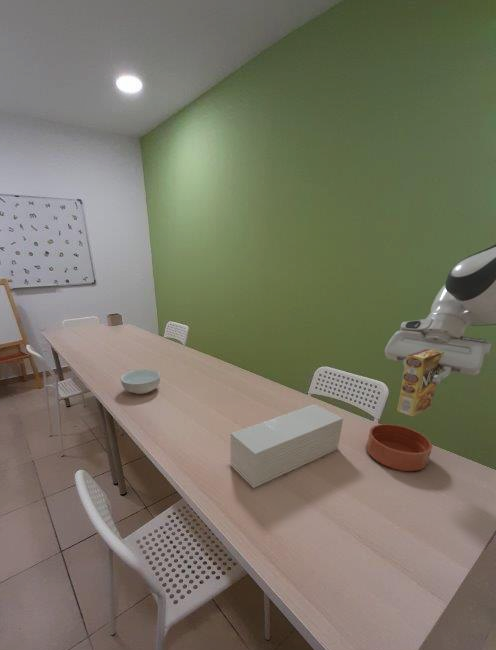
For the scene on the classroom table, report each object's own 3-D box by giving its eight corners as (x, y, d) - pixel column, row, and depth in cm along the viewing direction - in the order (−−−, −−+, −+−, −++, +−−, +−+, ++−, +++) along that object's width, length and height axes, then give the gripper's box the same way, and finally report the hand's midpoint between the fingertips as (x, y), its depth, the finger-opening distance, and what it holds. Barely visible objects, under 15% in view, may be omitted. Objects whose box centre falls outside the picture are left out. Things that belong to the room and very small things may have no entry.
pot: (432, 455, 87) (438, 437, 85) (417, 480, 78) (423, 461, 75) (376, 434, 97) (380, 418, 95) (357, 455, 88) (361, 438, 86)
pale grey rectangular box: (253, 488, 77) (255, 453, 72) (230, 465, 85) (230, 433, 81) (337, 449, 91) (343, 418, 87) (310, 432, 99) (314, 403, 95)
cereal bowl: (126, 401, 124) (124, 386, 121) (119, 387, 138) (117, 373, 135) (166, 393, 130) (164, 378, 127) (155, 380, 144) (154, 366, 141)
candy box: (412, 417, 74) (425, 358, 69) (395, 411, 78) (406, 354, 72) (431, 408, 78) (445, 351, 73) (414, 402, 82) (426, 347, 76)
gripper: (492, 348, 72) (471, 397, 70) (397, 334, 86) (378, 375, 84) (496, 333, 68) (474, 385, 65) (395, 321, 81) (375, 364, 79)
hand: (419, 379), depth 75 cm, fingers closed on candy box, 5 cm apart
